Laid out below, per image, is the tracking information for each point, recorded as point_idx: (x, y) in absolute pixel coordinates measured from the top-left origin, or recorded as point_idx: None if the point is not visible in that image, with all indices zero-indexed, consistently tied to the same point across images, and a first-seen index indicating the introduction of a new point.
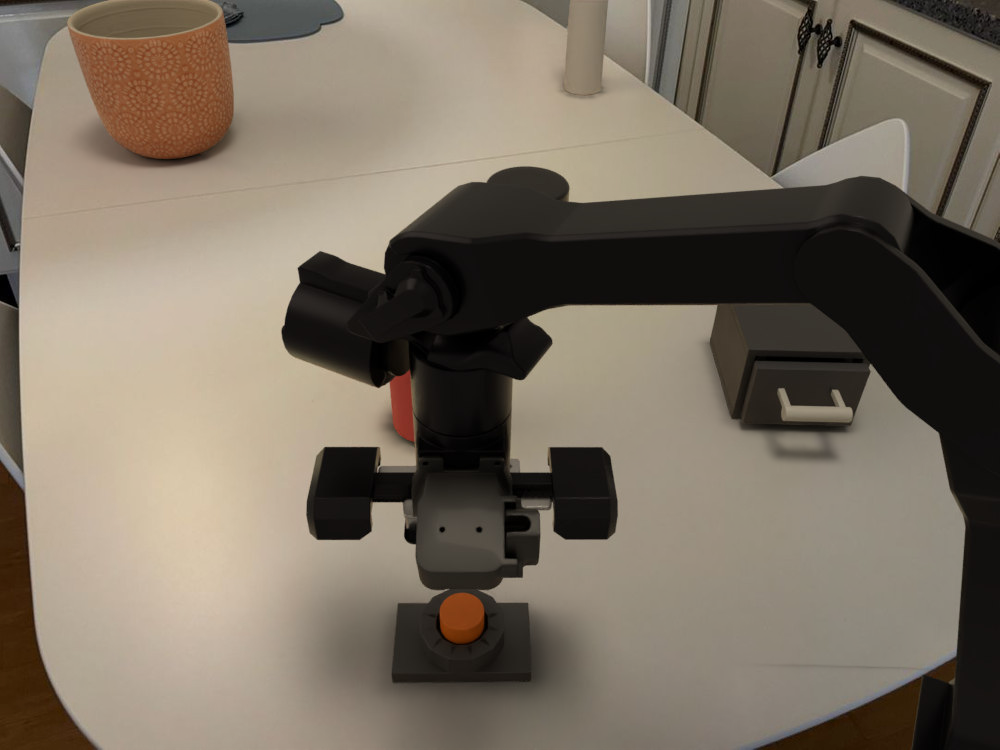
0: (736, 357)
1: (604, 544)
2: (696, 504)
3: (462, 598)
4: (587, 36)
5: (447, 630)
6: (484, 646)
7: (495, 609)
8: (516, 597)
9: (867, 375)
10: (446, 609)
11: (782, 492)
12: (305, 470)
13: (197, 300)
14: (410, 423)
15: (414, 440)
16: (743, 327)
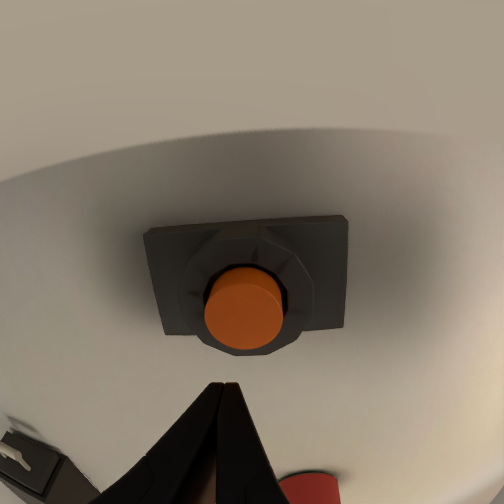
0: (62, 495)
1: (112, 391)
2: (58, 409)
3: (245, 340)
4: None
5: (266, 284)
6: (202, 262)
7: (195, 324)
8: (187, 342)
9: None
10: (271, 320)
11: (17, 402)
12: (418, 435)
13: (451, 493)
14: (323, 492)
15: (318, 475)
16: None
